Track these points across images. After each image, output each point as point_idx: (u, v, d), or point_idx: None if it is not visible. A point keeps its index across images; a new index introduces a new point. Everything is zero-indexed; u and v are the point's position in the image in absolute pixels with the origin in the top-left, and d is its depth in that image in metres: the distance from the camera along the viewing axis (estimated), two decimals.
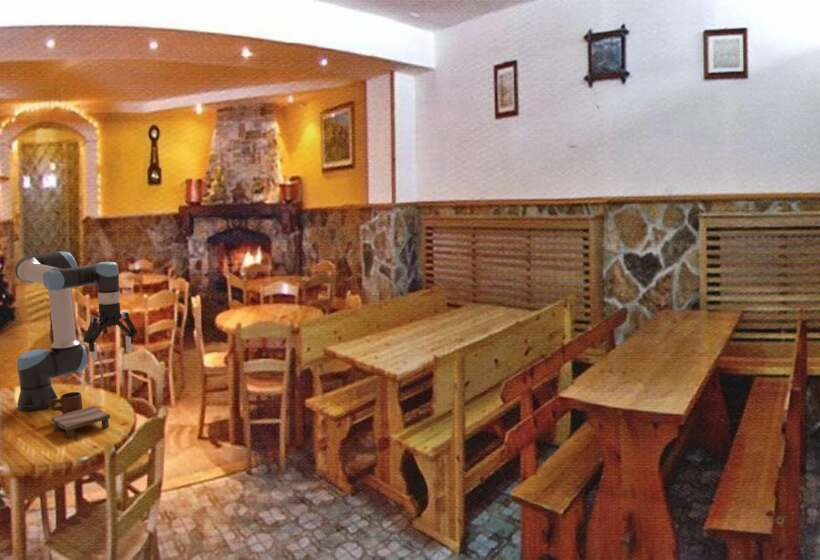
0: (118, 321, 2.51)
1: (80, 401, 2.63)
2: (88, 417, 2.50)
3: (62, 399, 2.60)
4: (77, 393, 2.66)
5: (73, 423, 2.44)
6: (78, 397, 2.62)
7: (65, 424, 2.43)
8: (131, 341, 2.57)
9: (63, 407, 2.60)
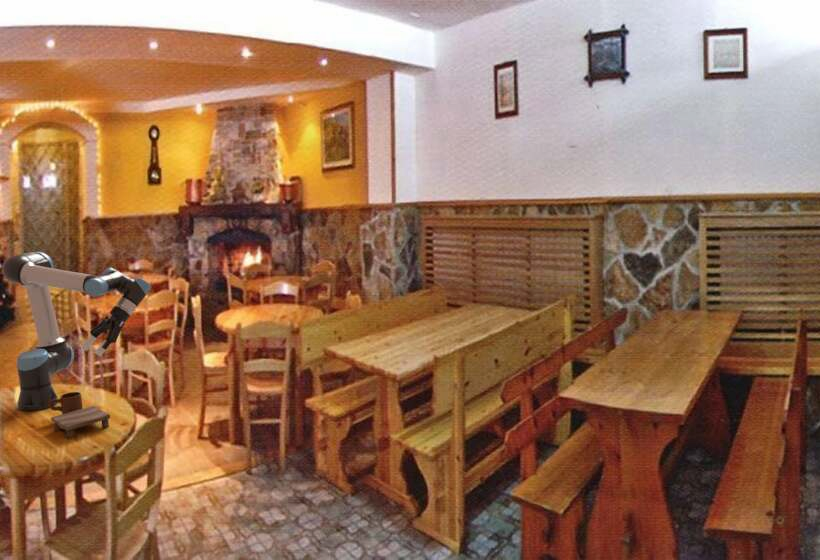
0: None
1: (80, 401, 2.63)
2: (88, 417, 2.50)
3: (62, 399, 2.60)
4: (77, 393, 2.66)
5: (73, 423, 2.44)
6: (78, 397, 2.62)
7: (65, 424, 2.43)
8: None
9: (63, 407, 2.60)
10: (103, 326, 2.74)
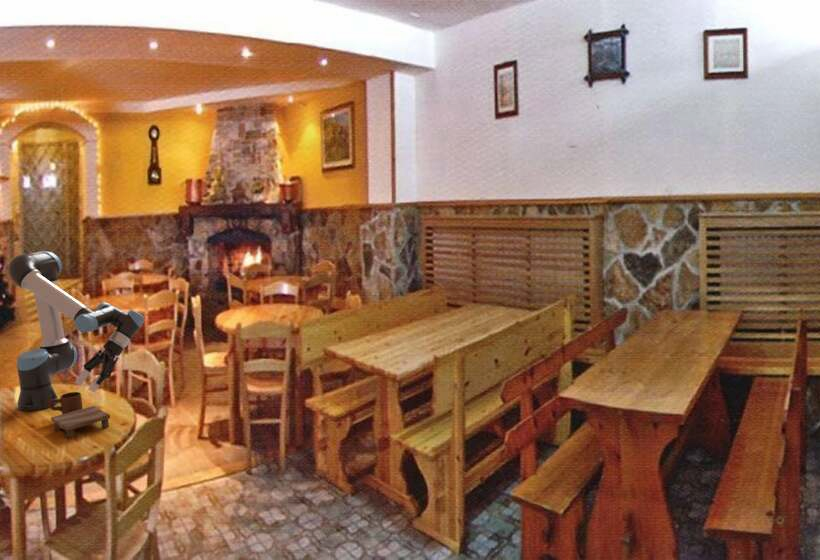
0: None
1: (80, 401, 2.63)
2: (88, 417, 2.50)
3: (62, 399, 2.60)
4: (77, 393, 2.66)
5: (73, 423, 2.44)
6: (78, 397, 2.62)
7: (65, 424, 2.43)
8: None
9: (63, 407, 2.60)
10: (97, 360, 2.72)
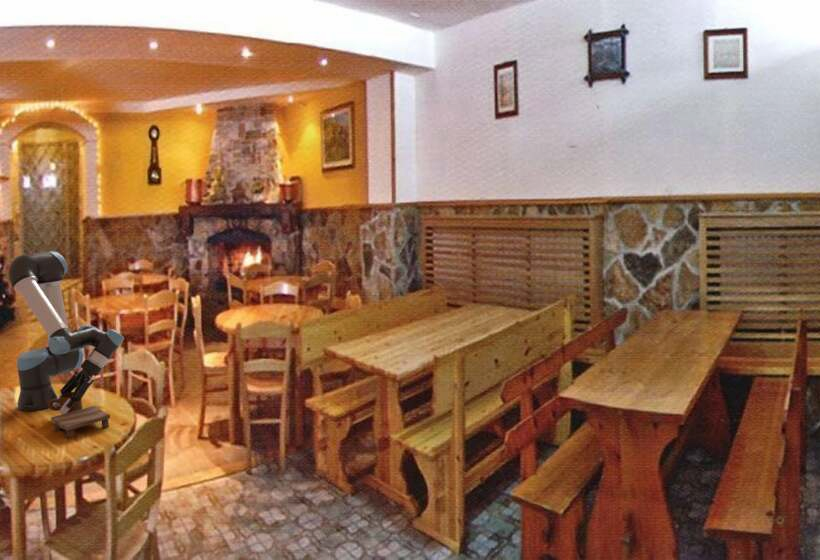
0: None
1: None
2: (88, 417, 2.50)
3: (61, 399, 2.60)
4: None
5: (73, 423, 2.44)
6: None
7: (65, 424, 2.43)
8: None
9: None
10: (74, 382, 2.66)
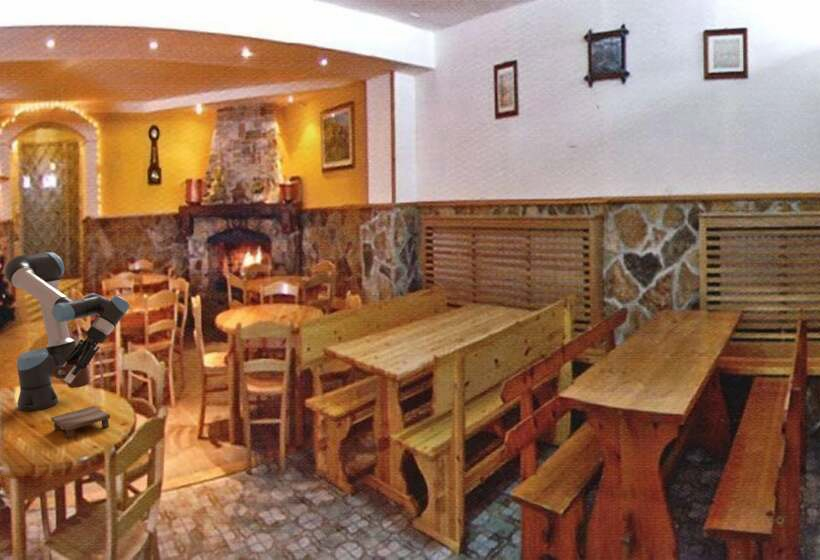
0: None
1: (85, 368, 2.55)
2: (88, 417, 2.50)
3: (67, 366, 2.52)
4: None
5: (73, 423, 2.44)
6: None
7: (65, 424, 2.43)
8: None
9: None
10: (79, 349, 2.58)
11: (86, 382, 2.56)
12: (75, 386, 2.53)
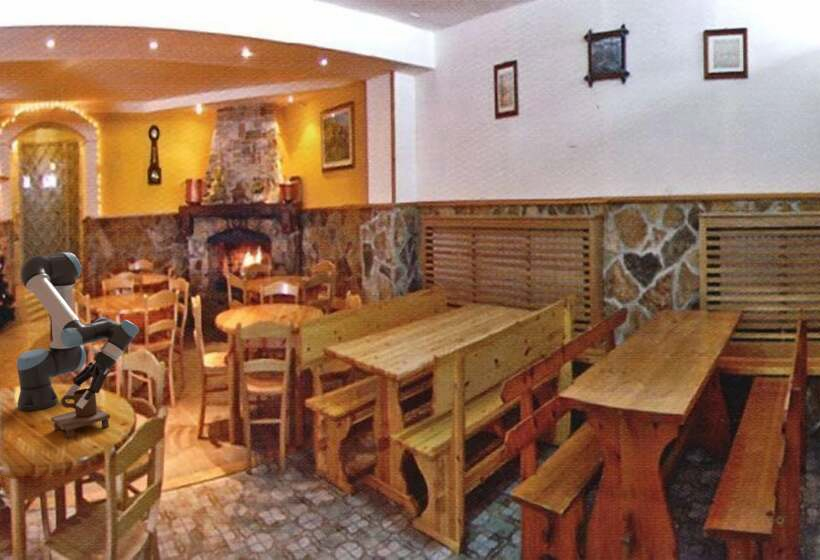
0: None
1: (94, 398, 2.52)
2: (88, 417, 2.50)
3: (75, 396, 2.48)
4: None
5: (73, 423, 2.44)
6: None
7: (65, 424, 2.43)
8: None
9: None
10: (87, 373, 2.55)
11: (94, 412, 2.52)
12: (83, 416, 2.49)
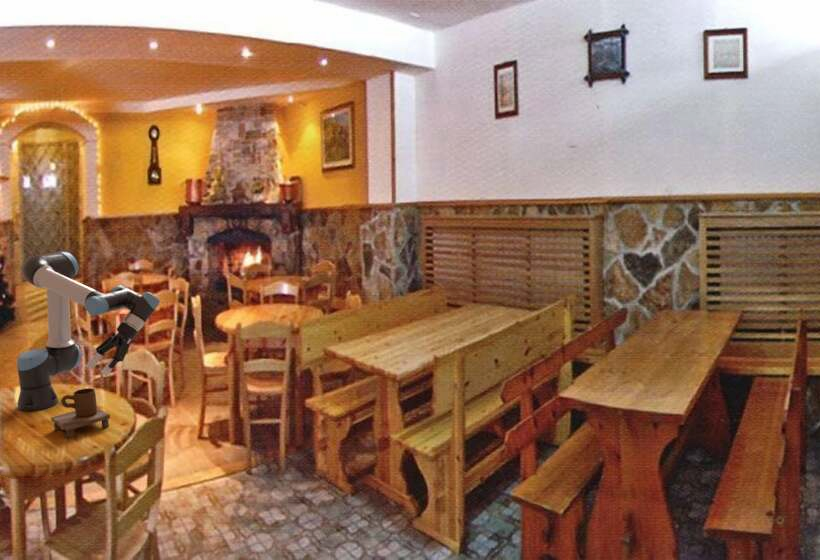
0: None
1: (94, 398, 2.52)
2: (88, 417, 2.50)
3: (75, 396, 2.48)
4: (91, 389, 2.55)
5: (73, 423, 2.44)
6: (92, 394, 2.51)
7: (65, 424, 2.43)
8: None
9: (76, 404, 2.49)
10: (109, 343, 2.60)
11: (94, 412, 2.52)
12: (83, 416, 2.49)
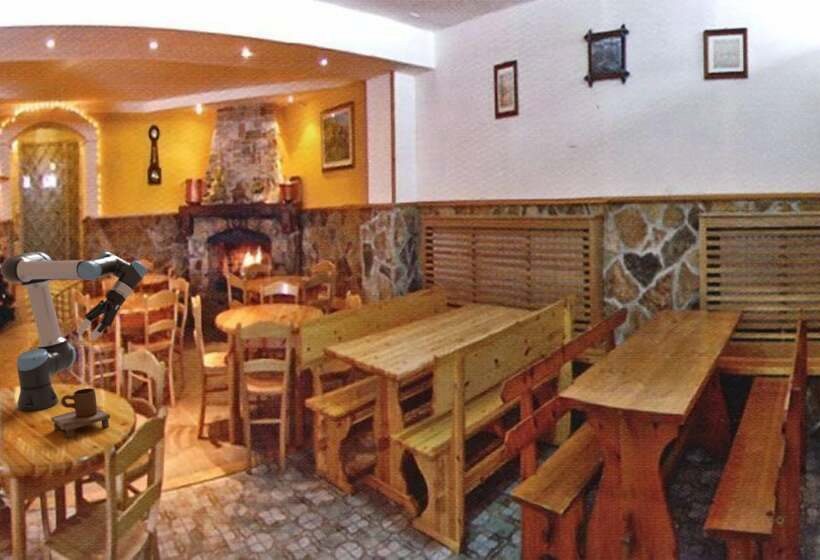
0: None
1: (94, 398, 2.52)
2: (88, 417, 2.50)
3: (75, 396, 2.48)
4: (91, 389, 2.55)
5: (73, 423, 2.44)
6: (92, 394, 2.51)
7: (65, 424, 2.43)
8: None
9: (76, 404, 2.49)
10: (98, 310, 2.70)
11: (94, 412, 2.52)
12: (83, 416, 2.49)
